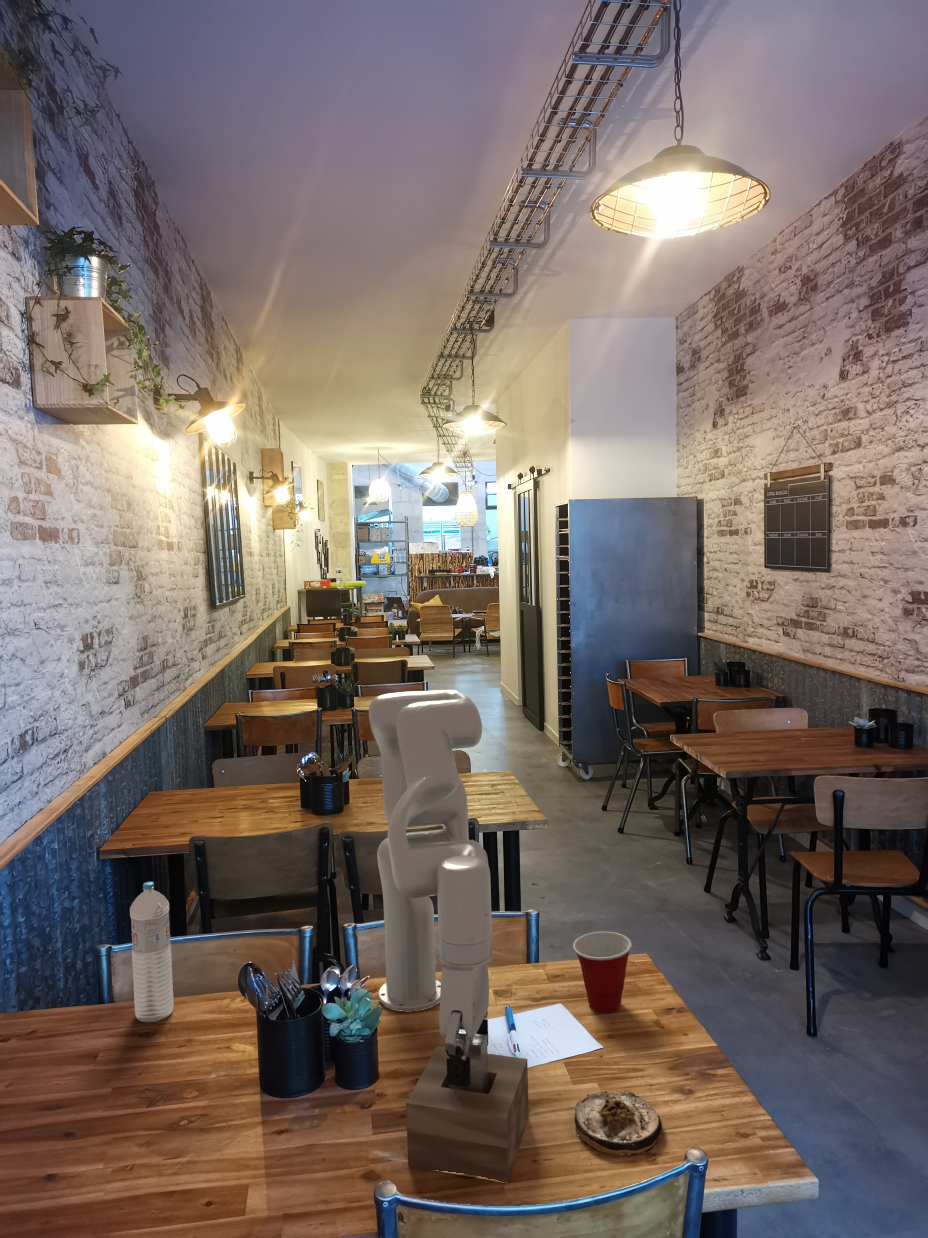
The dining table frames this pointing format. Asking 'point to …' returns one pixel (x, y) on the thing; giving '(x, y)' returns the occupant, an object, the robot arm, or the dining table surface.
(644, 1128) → the sushi roll
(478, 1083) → the gray rectangular block
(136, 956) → the water bottle
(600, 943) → the plastic cup
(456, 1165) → the wooden slotted box
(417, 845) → the robot arm
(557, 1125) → the dining table surface
